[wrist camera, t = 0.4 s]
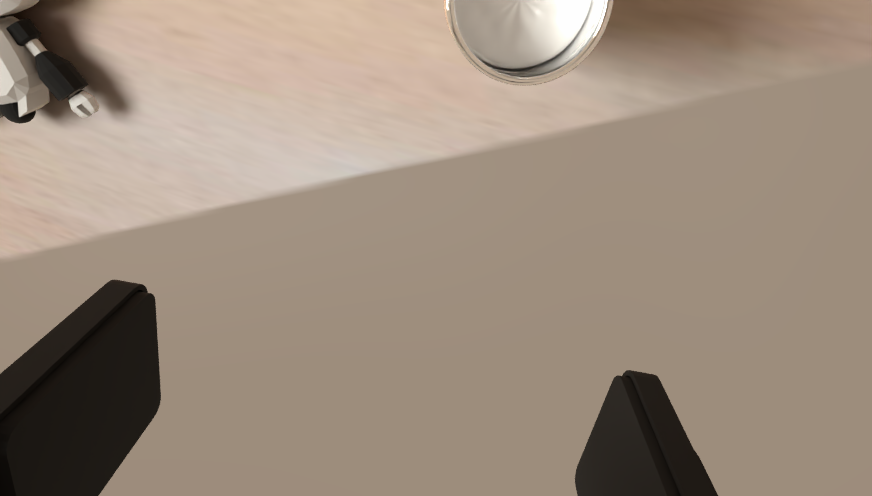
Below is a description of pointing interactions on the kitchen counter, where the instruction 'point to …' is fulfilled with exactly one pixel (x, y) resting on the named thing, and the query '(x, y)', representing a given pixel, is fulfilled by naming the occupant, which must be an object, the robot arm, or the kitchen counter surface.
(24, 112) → the robot toy
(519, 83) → the beer glass
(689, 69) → the kitchen counter surface
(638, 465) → the robot arm
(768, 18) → the kitchen counter surface
